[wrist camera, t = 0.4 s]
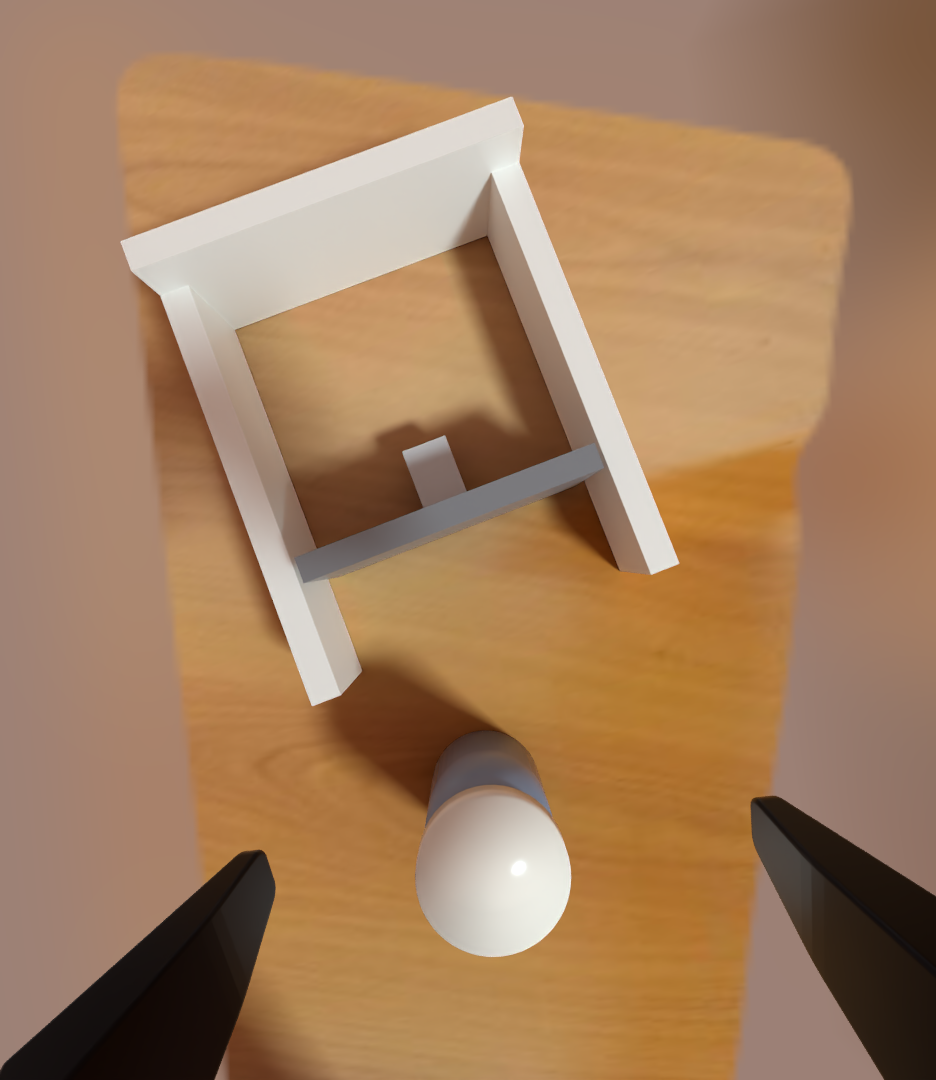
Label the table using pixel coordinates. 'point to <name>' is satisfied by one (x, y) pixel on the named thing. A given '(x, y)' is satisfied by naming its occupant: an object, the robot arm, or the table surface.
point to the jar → (491, 849)
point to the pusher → (446, 506)
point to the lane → (354, 257)
